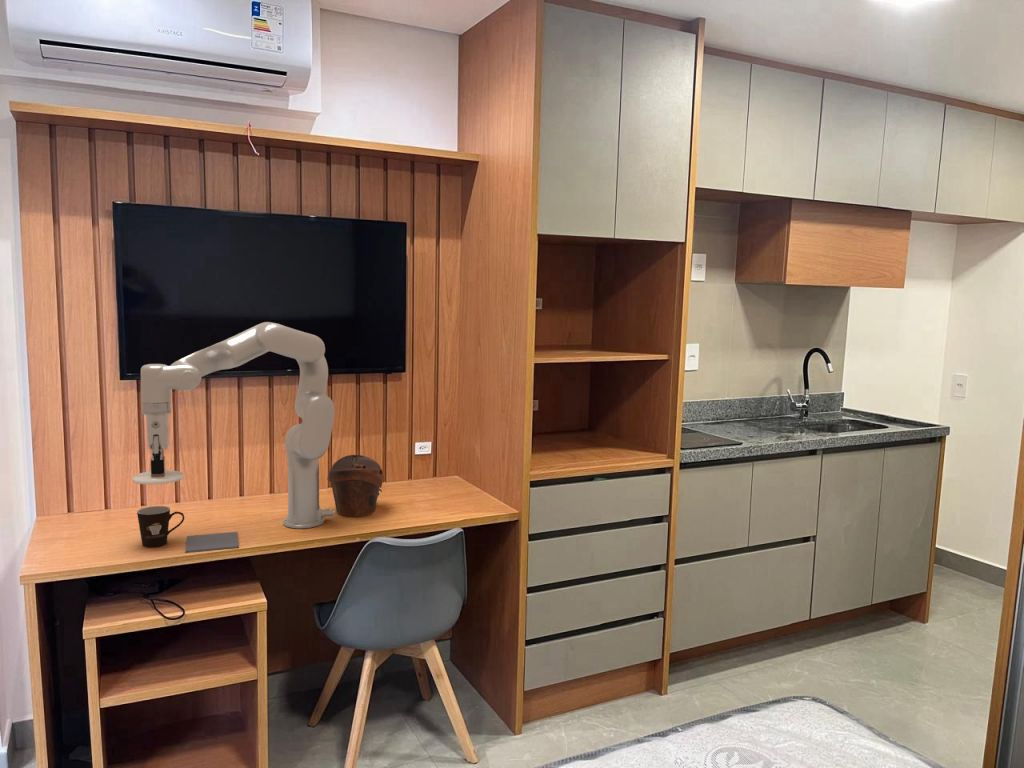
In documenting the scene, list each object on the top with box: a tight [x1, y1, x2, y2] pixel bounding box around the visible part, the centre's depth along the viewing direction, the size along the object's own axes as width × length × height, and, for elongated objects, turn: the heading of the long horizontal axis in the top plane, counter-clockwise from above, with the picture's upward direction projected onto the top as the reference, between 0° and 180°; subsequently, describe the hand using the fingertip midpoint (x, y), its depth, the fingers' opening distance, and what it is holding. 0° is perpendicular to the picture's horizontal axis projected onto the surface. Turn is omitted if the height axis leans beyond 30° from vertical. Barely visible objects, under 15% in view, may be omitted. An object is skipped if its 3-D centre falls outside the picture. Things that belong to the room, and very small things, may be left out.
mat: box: [185, 531, 240, 554], centre depth 224 cm, size 14×14×1 cm
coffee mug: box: [136, 505, 185, 549], centre depth 221 cm, size 12×9×10 cm
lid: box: [132, 456, 184, 486], centre depth 219 cm, size 13×13×6 cm
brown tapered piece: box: [327, 454, 384, 518], centre depth 257 cm, size 18×20×18 cm
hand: (158, 471), depth 219 cm, fingers closed on lid, 3 cm apart
